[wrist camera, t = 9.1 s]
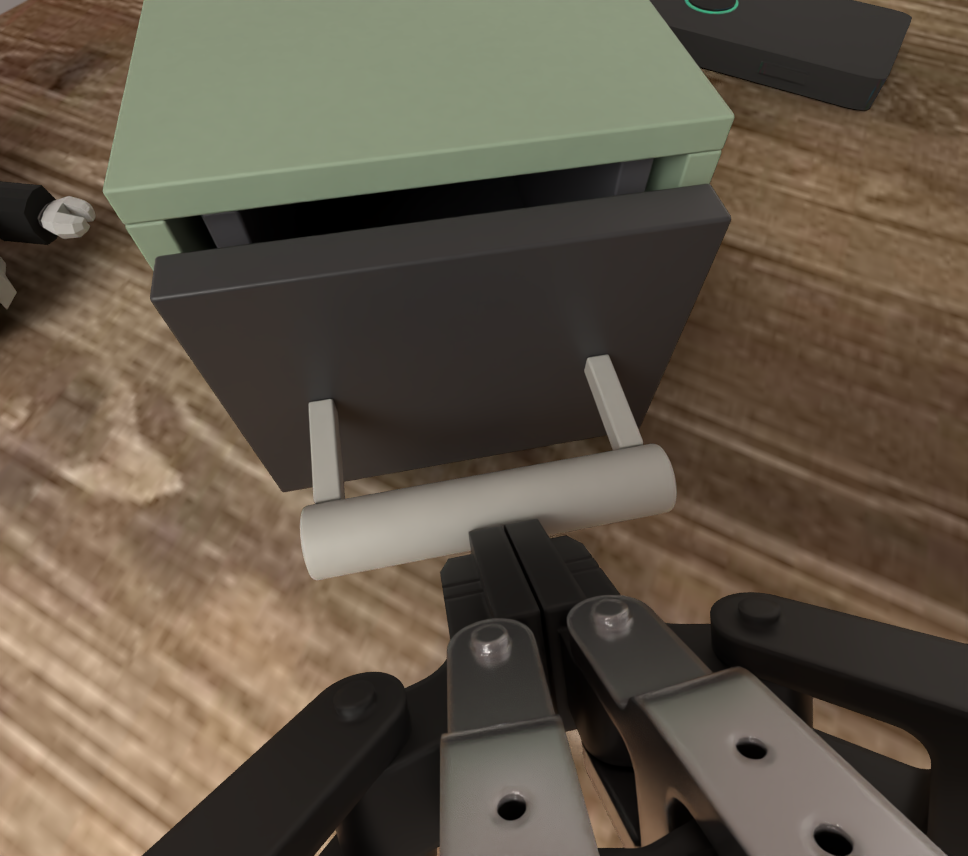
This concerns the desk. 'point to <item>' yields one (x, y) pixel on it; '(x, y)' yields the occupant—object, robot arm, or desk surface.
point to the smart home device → (793, 43)
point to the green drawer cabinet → (393, 103)
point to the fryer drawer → (449, 348)
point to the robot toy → (37, 221)
